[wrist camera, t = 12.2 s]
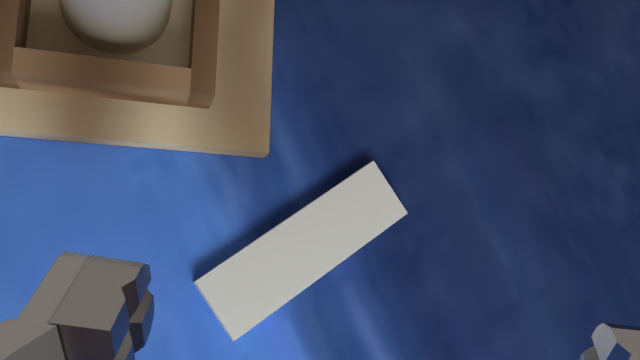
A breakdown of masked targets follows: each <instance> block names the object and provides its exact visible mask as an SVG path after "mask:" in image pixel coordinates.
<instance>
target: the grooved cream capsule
mask: <svg viewBox="0 0 640 360" xmlns="http://www.w3.org/2000/svg"><path fill="white" fill-rule="evenodd" d="M59 3H60V8H61V12H62V15H63V18H64V20H65V22H66V24H67V25H68V27H69V28H70V30H71V31H72V32H73V33H74V34H75V35H76V36H77V37H78V38H79V39H80V40H81V41H83V42H84V43H86V44H87V45H89V46H91V47H93V48H95V49H97V50H100V51H104V52H108V53H115V54H126V53H133V52H137V51H140V50H142V49H145V48H147V47H148V46H150V45H152V44H153V43H154V42H155V41H157V40H158V39H159V38H160V36H161V35H162V34H163V32H164V31H165V29H166V27H167V25H168V22H169V18H170V12H171V6H172V0H59Z"/></svg>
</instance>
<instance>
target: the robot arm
mask: <svg viewBox="0 0 640 360" xmlns="http://www.w3.org/2000/svg"><path fill="white" fill-rule="evenodd" d="M150 280H151V274H150V268H149V265H147V264H145V263H139V262H132V261H126V260H119V259H113V258H107V257H100V256H94V255H93V256H91V255H84V254H78V253H71V252H64V253H63V254H61V255H60V256H59V257H58V258H57V259H56V260H55V262H54V263H53V265H52V267H51V268H50V270H49V271H48V273H47V274H46V276H45V277H44V279H43V280H42V282H41V283H40V285H39V286H38V288H37V289H36V291H35V292H34V294H33V295H32V297H31V298H30V300H29V301H28V303H27V304H26V306H25V307H24V309H23V310H22V312H21V313H20V315H19V316H18V318H17V319H16V320H14V319H7V320H5V321H3V322H1V323H0V360H135V356H134V353H136V352H137V351H138V350H140V349H141V348H143V347H144V346H145V344H146V341H147V338H148V336H149V333H150V329H151V325H152V321H153V314H154V300H153V295H152V294H151V293H150V292H149V291H148V290H147V287H148V285H149V282H150ZM592 339H593V342H594V345H595V346H594V347H592V348H590V349H588V350H586V351H584V352H583V353H582V355H581V357H580V359H579V360H640V327H634V326H626V325H618V324H609V323H602V324H601V325H599V326H598V327H597V328H596V329H595V331H594V333H593V335H592Z"/></svg>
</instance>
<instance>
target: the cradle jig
mask: <svg viewBox="0 0 640 360" xmlns="http://www.w3.org/2000/svg"><path fill="white" fill-rule="evenodd" d="M273 28H274V0H172V6H171V12H170V18H169V22H168V25H167V27H166V29H165V31H164V32H163V34H162V35H161V36H160V38H159V39H158V40H157V41H155V42H154V43H153V44H152V45H150V46H148V47H147V48H145V49H142V50H140V51H137V52H133V53H126V54H115V53H108V52H104V51H100V50H97V49H95V48H93V47H91V46H89V45H87V44H86V43H84V42H83V41H81V40H80V39H79V38H78V37H77V36H76V35H75V34H74V33H73V32H72V31H71V30H70V28H69V27H68V25H67V24H66V22H65V20H64V18H63V15H62V12H61V8H60V3H59V0H0V136H10V137H22V138H34V139H46V140H58V141H70V142H82V143H94V144H105V145H117V146H129V147H141V148H153V149H165V150H177V151H189V152H201V153H213V154H225V155H237V156H248V157H260V158H265V157H266V156H267V155H268V154H269V145H270V116H271V86H272V57H273Z"/></svg>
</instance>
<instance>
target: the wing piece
mask: <svg viewBox="0 0 640 360" xmlns="http://www.w3.org/2000/svg"><path fill="white" fill-rule="evenodd" d="M406 214H407V211H406V210H405V208H404V207H403V205H402V203H401V202H400V200H399V199H398V197H397V196H396V194H395V193H394V191H393V190H392V188H391V187H390V185H389V183H388V182H387V180H386V179H385V177H384V176H383V174H382V173H381V171H380V170H379V168H378V167H377V165H376V163H375V162H374V161H372V162H370V163H368V164H367V165H365V166H364V167H362V168H361V169H359V170H358V171H356V172H355V173H353V174H352V175H350V176H349V177H347V178H346V179H345V180H343V181H342V182H340V183H339V184H337V185H336V186H334V187H333V188H331V189H330V190H328V191H327V192H325V193H324V194H322V195H321V196H319V197H318V198H316V199H315V200H313V201H312V202H311V203H309V204H308V205H306V206H305V207H303V208H302V209H300V210H299V211H297V212H296V213H294V214H293V215H291V216H290V217H288V218H287V219H285V220H284V221H282V222H281V223H280V224H278V225H277V226H275V227H274V228H272V229H271V230H269V231H268V232H266V233H265V234H263V235H262V236H260V237H259V238H257V239H256V240H254V241H253V242H251V243H250V244H248V245H247V246H246V247H244V248H243V249H241V250H240V251H238V252H237V253H235V254H234V255H232V256H231V257H229V258H228V259H226V260H225V261H223V262H222V263H220V264H219V265H217V266H216V267H215V268H213V269H212V270H210V271H209V272H207V273H206V274H204V275H203V276H201V277H200V278H198V279H197V280H195V281H194V282H193V283H194V284H195V286H196V287H197V289H198V290H199V292H200V293H201V295H202V296H203V298H204V299H205V301H206V302H207V304H208V305H209V307H210V308H211V310H212V311H213V313H214V314H215V316H216V317H217V319H218V320H219V322H220V323H221V325H222V326H223V328H224V329H225V331H226V333H227V334H228V336H229V337H230V339H231V340H233V341H235V340H237V339H238V338H239V337H241V336H242V335H243V334H245V333H246V332H247V331H249V330H250V329H252V328H253V327H254V326H256V325H257V324H258V323H260V322H261V321H262V320H264V319H265V318H266V317H268V316H269V315H270V314H272V313H273V312H275V311H276V310H277V309H279V308H280V307H281V306H283V305H284V304H285V303H287V302H288V301H289V300H291V299H292V298H293V297H295V296H296V295H298V294H299V293H300V292H302V291H303V290H304V289H306V288H307V287H308V286H310V285H311V284H312V283H314V282H315V281H317V280H318V279H319V278H321V277H322V276H323V275H325V274H326V273H327V272H329V271H330V270H331V269H333V268H334V267H335V266H337V265H338V264H340V263H341V262H342V261H344V260H345V259H346V258H348V257H349V256H350V255H352V254H353V253H354V252H356V251H357V250H358V249H360V248H361V247H363V246H364V245H365V244H367V243H368V242H369V241H371V240H372V239H373V238H375V237H376V236H377V235H379V234H380V233H382V232H383V231H384V230H386V229H387V228H388V227H390V226H391V225H392V224H394V223H395V222H396V221H398V220H399V219H400V218H402V217H403V216H405V215H406Z"/></svg>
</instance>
